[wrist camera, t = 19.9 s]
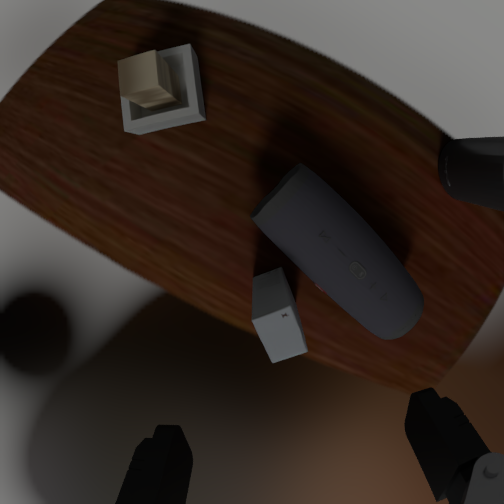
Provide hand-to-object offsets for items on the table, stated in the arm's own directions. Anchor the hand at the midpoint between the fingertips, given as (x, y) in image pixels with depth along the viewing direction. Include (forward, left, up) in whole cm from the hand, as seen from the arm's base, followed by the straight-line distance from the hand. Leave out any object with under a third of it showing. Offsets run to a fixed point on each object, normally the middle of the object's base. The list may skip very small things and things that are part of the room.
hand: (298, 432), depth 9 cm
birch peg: (+10, -20, -31) cm, 38 cm away
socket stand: (+10, -20, -32) cm, 39 cm away
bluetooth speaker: (-9, +3, -32) cm, 34 cm away
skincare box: (0, +8, -32) cm, 33 cm away
